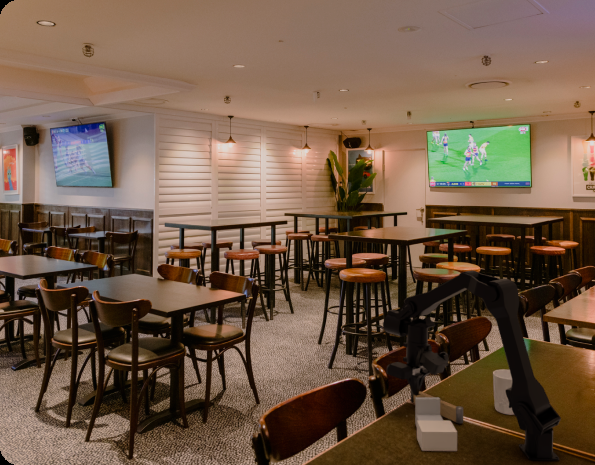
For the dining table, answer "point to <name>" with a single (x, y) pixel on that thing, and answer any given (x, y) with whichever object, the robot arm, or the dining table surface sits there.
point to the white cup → (502, 390)
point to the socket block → (436, 435)
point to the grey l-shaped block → (427, 409)
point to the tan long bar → (444, 408)
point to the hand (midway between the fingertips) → (415, 395)
